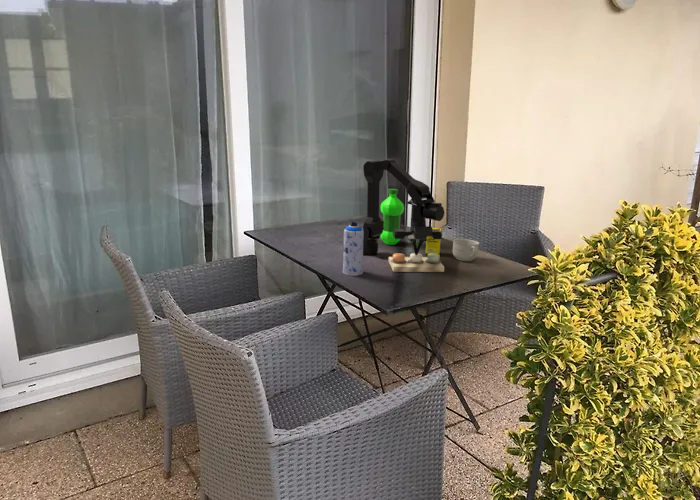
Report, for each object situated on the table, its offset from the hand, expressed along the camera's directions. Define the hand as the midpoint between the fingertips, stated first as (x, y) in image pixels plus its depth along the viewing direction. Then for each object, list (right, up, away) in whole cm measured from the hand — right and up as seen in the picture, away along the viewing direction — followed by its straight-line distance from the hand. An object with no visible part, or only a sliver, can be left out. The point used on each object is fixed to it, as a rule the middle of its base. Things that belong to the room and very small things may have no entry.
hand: (416, 254), depth 240 cm
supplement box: (+9, 0, +20) cm, 23 cm away
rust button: (-7, -2, 0) cm, 7 cm away
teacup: (+22, -3, +12) cm, 25 cm away
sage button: (+7, -2, +1) cm, 7 cm away
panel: (0, -5, +1) cm, 5 cm away
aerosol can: (-25, -7, -8) cm, 28 cm away
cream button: (0, -2, +1) cm, 2 cm away
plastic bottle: (-8, +5, +35) cm, 37 cm away
